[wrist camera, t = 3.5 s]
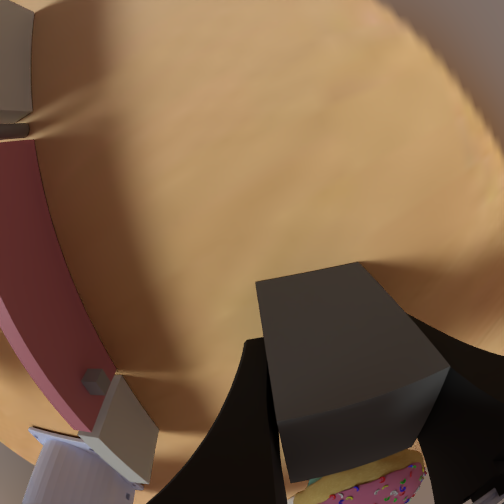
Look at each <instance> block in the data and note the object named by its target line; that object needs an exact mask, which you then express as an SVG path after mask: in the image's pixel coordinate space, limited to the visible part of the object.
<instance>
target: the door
mask: <svg viewBox="0 0 504 504" xmlns="http://www.w3.org/2000/svg"><path fill="white" fill-rule="evenodd" d="M0 327H1V329H2V331H3V333H4V335H5V337H6V338H7V340H8V342H9V343H10V345H11V347H12V348H13V350H14V352H15V353H16V355H17V357H18V358H19V360H20V361H21V363H22V364H23V366H24V367H25V369H26V370H27V372H28V373H29V375H30V376H31V377H32V379H33V380H34V382H35V383H36V384H37V386H38V387H39V388H40V390H41V391H42V392H43V394H44V395H45V396H46V398H47V399H48V400H49V401H50V403H51V404H52V405H53V406H54V407H55V409H56V410H57V411H58V412H59V413H60V415H61V416H62V417H63V418H64V419H65V420H66V421H67V422H68V424H69V425H70V426H71V427H72V428H73V429H74V430H79V431H85V432H92V430H93V427H94V425H95V422H96V419H97V417H98V414H99V411H100V409H101V406H102V404H103V401H104V399H105V396H106V394H107V391H108V389H109V386H110V384H111V381H112V379H113V377H114V374H115V372H116V370H117V369H116V367H115V366H114V364H113V362H112V361H111V359H110V357H109V355H108V354H107V352H106V350H105V348H104V346H103V344H102V343H101V341H100V339H99V337H98V335H97V333H96V331H95V329H94V327H93V325H92V323H91V321H90V319H89V317H88V315H87V313H86V311H85V308H84V306H83V304H82V302H81V300H80V297H79V295H78V293H77V290H76V288H75V286H74V283H73V281H72V278H71V276H70V273H69V271H68V268H67V265H66V263H65V260H64V257H63V254H62V252H61V249H60V246H59V243H58V240H57V237H56V234H55V230H54V227H53V224H52V220H51V217H50V213H49V210H48V206H47V202H46V198H45V194H44V190H43V186H42V181H41V176H40V172H39V166H38V161H37V155H36V149H35V143H34V139H33V140H20V141H10V142H1V143H0Z"/></svg>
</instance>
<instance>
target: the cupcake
mask: <svg viewBox="0 0 504 504" xmlns="http://www.w3.org/2000/svg"><path fill="white" fill-rule="evenodd" d="M425 474H427V473H426V471H425V467H424V462H423V456H422V454H421V453H420V452H418V451H415V450H408V449H405V450H403V451H400V452H398V453H395V454H393V455H390V456H388V457H385V458H383V459H380V460H377V461H374V462H371V463H368V464H365V465H362V466H359V467H356V468H353V469H350V470H346V471H343V472H339V473H335V474H331V475H327V476H323V477H319V478H315V479H310V480H309V483H308V486H307V488H306V489H305V490H304V491H301V492H298V493H297V494H296V495H295V497H294V500H293V504H406V503H407V502H408V501H410V500H411V497H414V495H415V494H416V492H417V491H418V490H419V488H420V484H421V482H422V480H423V479H424V475H425Z"/></svg>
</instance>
